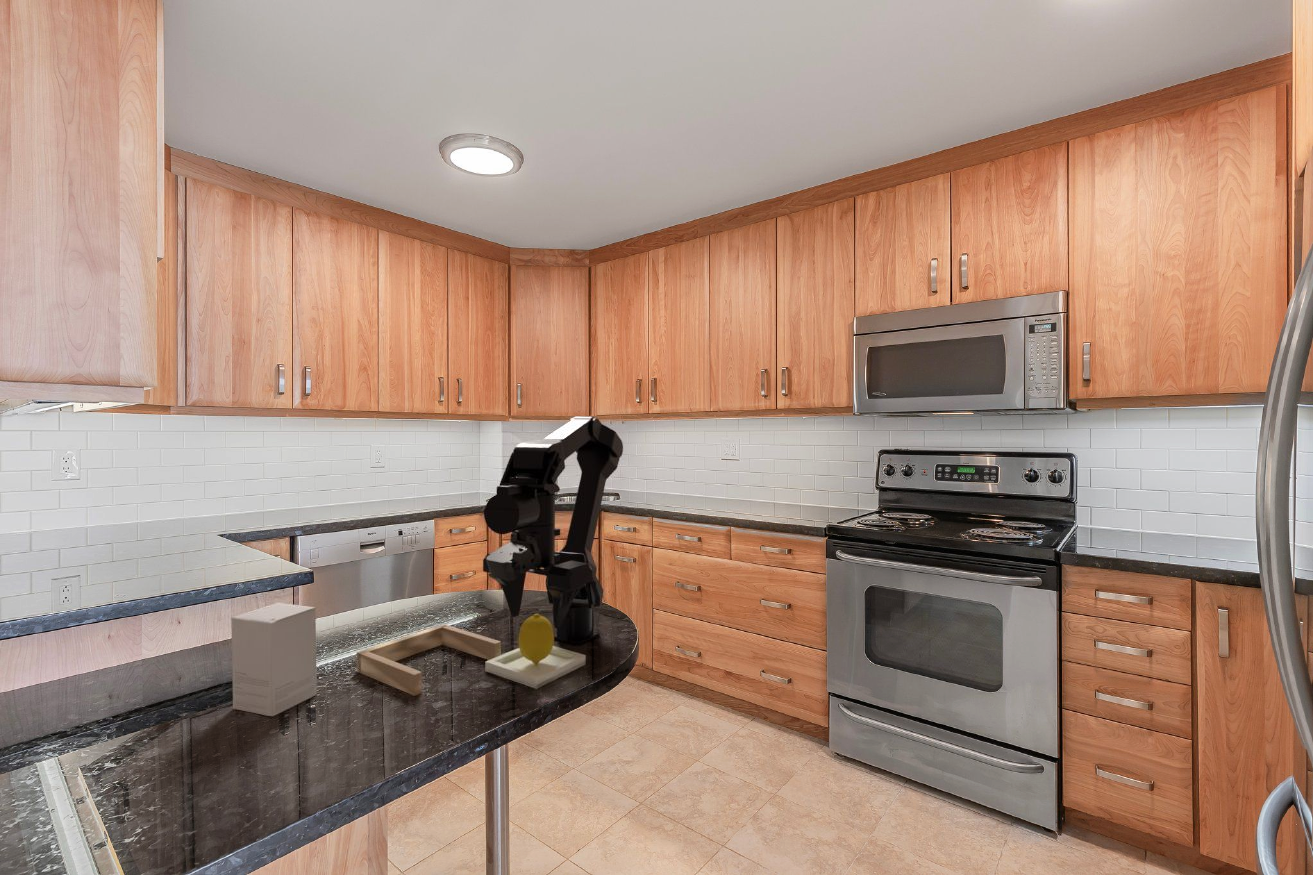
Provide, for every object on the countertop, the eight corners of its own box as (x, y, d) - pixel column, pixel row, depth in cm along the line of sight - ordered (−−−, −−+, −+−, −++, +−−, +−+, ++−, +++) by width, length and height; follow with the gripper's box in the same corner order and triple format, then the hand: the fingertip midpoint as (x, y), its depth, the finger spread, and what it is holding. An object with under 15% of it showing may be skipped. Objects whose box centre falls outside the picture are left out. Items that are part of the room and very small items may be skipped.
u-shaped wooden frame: (443, 640, 109) (443, 624, 109) (500, 659, 101) (500, 641, 101) (356, 671, 96) (356, 652, 96) (414, 695, 88) (414, 674, 88)
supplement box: (318, 694, 88) (318, 606, 87) (271, 718, 81) (270, 622, 80) (280, 686, 90) (279, 600, 90) (230, 709, 83) (229, 616, 83)
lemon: (545, 672, 95) (546, 620, 94) (512, 668, 96) (512, 617, 95) (558, 658, 100) (559, 610, 100) (526, 655, 101) (527, 607, 101)
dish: (535, 649, 106) (535, 640, 105) (585, 664, 99) (585, 655, 99) (485, 671, 96) (485, 661, 96) (536, 688, 90) (536, 678, 90)
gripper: (455, 524, 96) (455, 624, 96) (543, 538, 85) (542, 650, 86) (509, 515, 105) (509, 606, 105) (595, 526, 94) (594, 628, 95)
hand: (535, 621), depth 97 cm, fingers open, 9 cm apart
